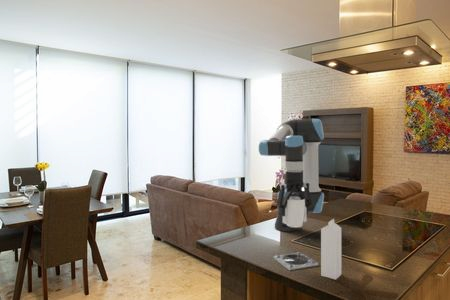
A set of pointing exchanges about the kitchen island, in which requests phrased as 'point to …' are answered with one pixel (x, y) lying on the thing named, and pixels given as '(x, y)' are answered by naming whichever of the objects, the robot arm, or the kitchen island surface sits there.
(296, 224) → the cup
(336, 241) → the milk
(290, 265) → the flange
